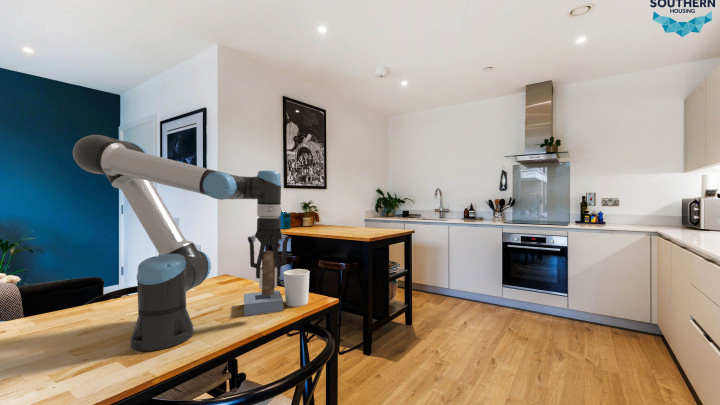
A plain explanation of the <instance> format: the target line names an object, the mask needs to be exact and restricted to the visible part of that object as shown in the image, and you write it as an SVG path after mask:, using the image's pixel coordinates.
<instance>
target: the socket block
mask: <svg viewBox="0 0 720 405" xmlns="http://www.w3.org/2000/svg"><path fill="white" fill-rule="evenodd" d="M277 312H284V299H283V297H282V294H281V291H280V289H274V294H273V295H262V291H259V292H258V291H257V292H249V293H244V294H243V313H244V317H248V316H249V317H250V316H255V315H257V316H258V315H263V314H269V313H270V314H271V313H277Z"/></svg>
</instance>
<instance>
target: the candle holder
mask: <svg viewBox="0 0 720 405" xmlns="http://www.w3.org/2000/svg"><path fill="white" fill-rule="evenodd" d="M282 273H283V282H284V284H283V285H284V294H285V295H284V296H285V297H284V298H285V304H286V306H288V307H291V306H292V307H293V308H294V307H295V308H296V307H302V306H305V305H307V304H308V302H309V289H310V270H308V269H305V268H304V269H303V268H295V269H289V270H284V272H282Z"/></svg>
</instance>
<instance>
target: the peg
mask: <svg viewBox="0 0 720 405" xmlns="http://www.w3.org/2000/svg"><path fill="white" fill-rule="evenodd" d="M275 265H276V262H275V254H274V251H273V250H264V253H263V257H262V262H261V267H262V269H263V270H262V289H261V292H262V295H273V294H274V290H275V288H274V268H275V267H276V266H275Z"/></svg>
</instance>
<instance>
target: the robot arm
mask: <svg viewBox="0 0 720 405" xmlns="http://www.w3.org/2000/svg"><path fill="white" fill-rule="evenodd" d="M72 156H73V160H74V161H75V163H76V164H77V165H78V167H79V168H81V169H82V170H84V171H86V172H88V173H90V174H91V173H92V174H96V175H103V176H106V178H107V179H108V181H109V183H110V184H111V186H112V187H113V188H115V189H118V190H119V189H120V190H121V192H122V193H123V195H124V197H125V199H126V200H127V202H128V204H129V205H130V207H131V209H132V211H133V212H134V214H135V215H136V217H137V219H138V221H139V222H140V224H141V226H142V227H143V229H144V231H145V232H146V234H147V236H148V237H149V239H150V241H151V242H152V244H153V246H154V248H155V250H156V251H157V253H158V254H157V255H155V256H150V257H148V258H145V259H144V260H142V261H141V262H140V263H139V264H138V266H137V273H136V280H137V282H136V283H137V314H138V316H137V319H136V322H135V325H134V327H133V331H132V334H131V337H130V348H131V349H133V350H135V351H138V352H152V351H158V350H159V351H160V350H164V349H168V348H169V349H170V348H171V347H174V346H177V345H180V344H182V343H185V342H186V341H188V340H189V339H190V338H191V337H193V335H194V325H193V322H192V319H191V317H190V314H189V312H188V310H187V292H188V291H190V290H192V289H194V288H195V287H198V286H200V285H201V284H202V283H203V282H204V281H206V279H207V278H208V277H209V275H210V273H211V270H212V262H211V259H210V257H209V256H208V255H207V254H206V253H205V252H204V251H201V250H199V249H198V248H197V247H196V245H195V243H194V242H193V241H189V240H187V239H186V238H185V236H184V235H183V233H182V231H181V229H180V228H179V226H178V224H177V223H176V221H175V219H174V217H173V216H172V214H171V212H170V210H169V209H168V207H167V206H166V204H165V202H164V200H163V199H162V197H161V195H160V194H159V192H158V190H157V189H156V187H155V185H154V183H156V184H159V185H164V186H167V187H173V188H177V189H181V190H184V191H190V192H193V193H195V194H196V193H197V194H201V195H204V196H208V197H210V198H212V199H215V200H221V201H222V200H257V207H256V208H257V209H256V211H257V212H256V216H257V218H256V232H255V234H254V235H252V236H248V237H247V241H248V244H249V260H250V263H249V265H250V267H251V268H252V269H255V278H256V280H257V279H259V280H258V281H259V282H258V284H259V290H262V270H263V269H262V257H263V253H264V251H265V248H266V246H271V247H272V251H274V254H275V265H276V266H275V268H274V289H277V287H278V278H280V277H281V267H284V266H286V265H287V256H288V255H287V254H288V253H287V252H288V242H289V239H290V236H288V235H285V234H283V233H282V230H281V223H282V222H281V220H282V219H281V218H280V217H281V209H282V208H281V207H282V206H281V205H282V203H281V201H282V200H281V199H282V181H281V180H282V178H281V176H282V174H281V173H280V172H279V171H277V170H259V171H258V172H257V175H256V176H239V175H235V174H230V173H227V172H223V171H218V170H214V169H209V168H206V167H203V166H202V167H201V166H198V165H195V164H189V163H186V162H181V161H178V160H173V159H169V158H165V157H162V156H159V155H155V154H150V153H148V152H147V150H145V149H144V148H143V147H141V146H140V145H138V144H136V143H134V142H132V141H127V140H120V139H116V138H113V137H110V136H107V135H101V134H90V135H87V136H84V137H82V138H80V139H79V140H78V141H76V143H75V144H74V146H73V149H72ZM256 239H257V241H258V242H259V243H260V244H259V246H260V247H259V250H258V255H257V259H256V263H255V245H254V244H255V242H256ZM280 239H281V241H282V247H281V250H282V251H281V260H280V257H279V250H278V245H277V243H278V242H279V240H280Z"/></svg>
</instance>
